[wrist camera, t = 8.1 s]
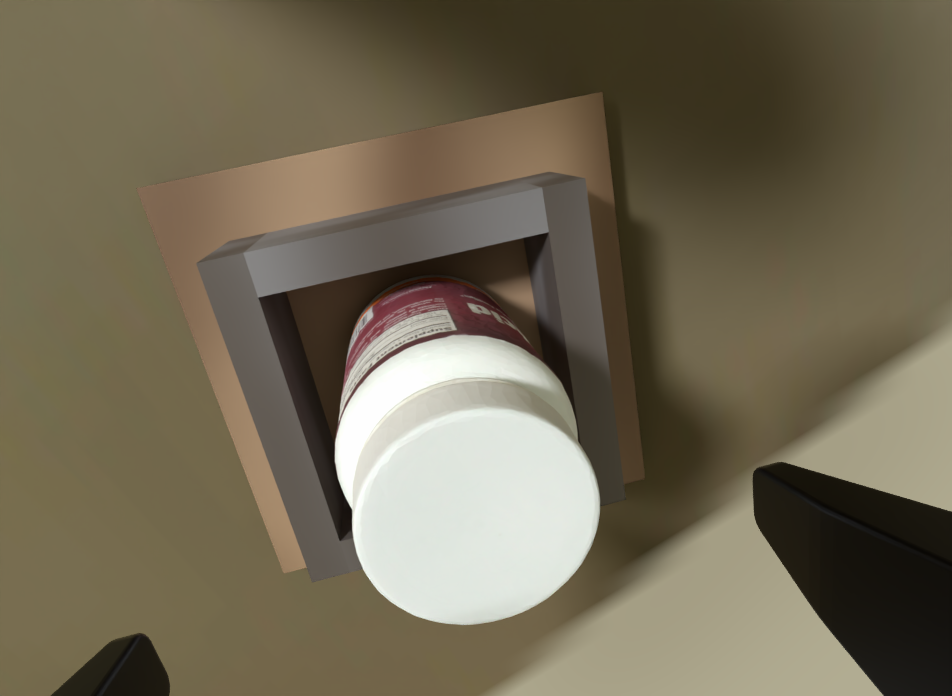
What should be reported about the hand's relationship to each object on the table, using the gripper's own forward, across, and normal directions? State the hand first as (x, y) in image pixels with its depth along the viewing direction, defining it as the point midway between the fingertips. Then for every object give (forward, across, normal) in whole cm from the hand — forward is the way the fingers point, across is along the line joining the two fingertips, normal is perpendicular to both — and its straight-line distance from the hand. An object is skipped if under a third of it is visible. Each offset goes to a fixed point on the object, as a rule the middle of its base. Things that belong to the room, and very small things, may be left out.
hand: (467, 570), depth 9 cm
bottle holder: (+10, 0, 0) cm, 10 cm away
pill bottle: (+9, 0, 0) cm, 9 cm away
